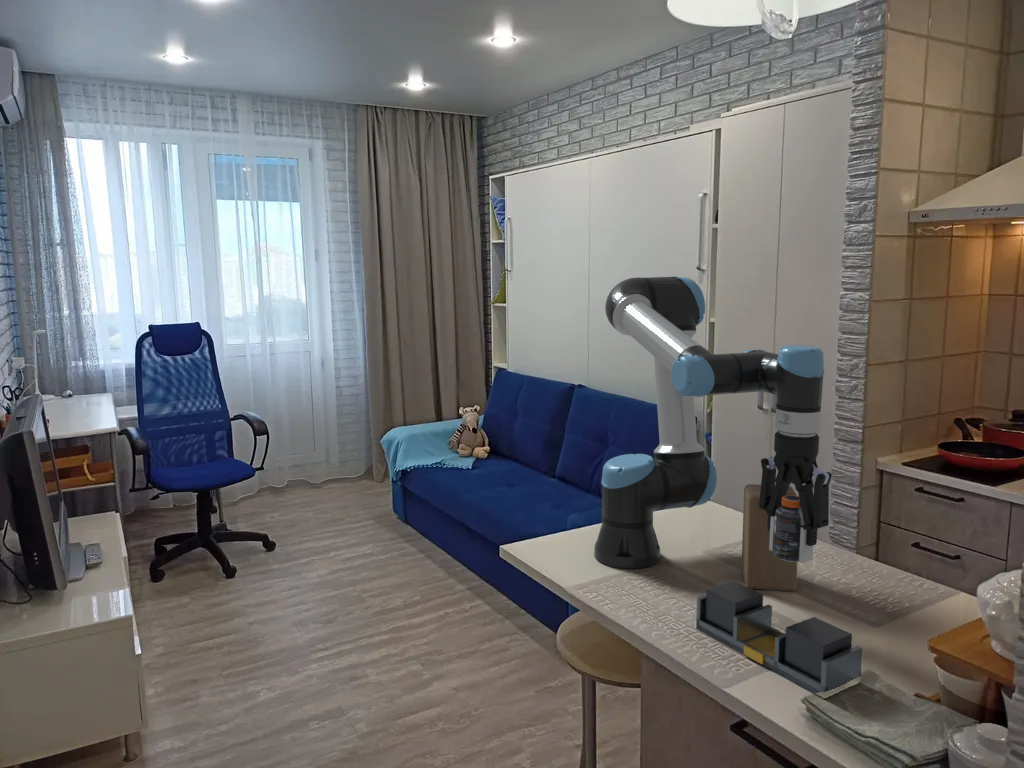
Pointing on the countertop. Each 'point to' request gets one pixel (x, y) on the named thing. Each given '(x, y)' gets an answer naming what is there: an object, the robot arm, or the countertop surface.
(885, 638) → the countertop surface
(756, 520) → the block
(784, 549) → the pill bottle
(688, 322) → the robot arm
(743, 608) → the rack
